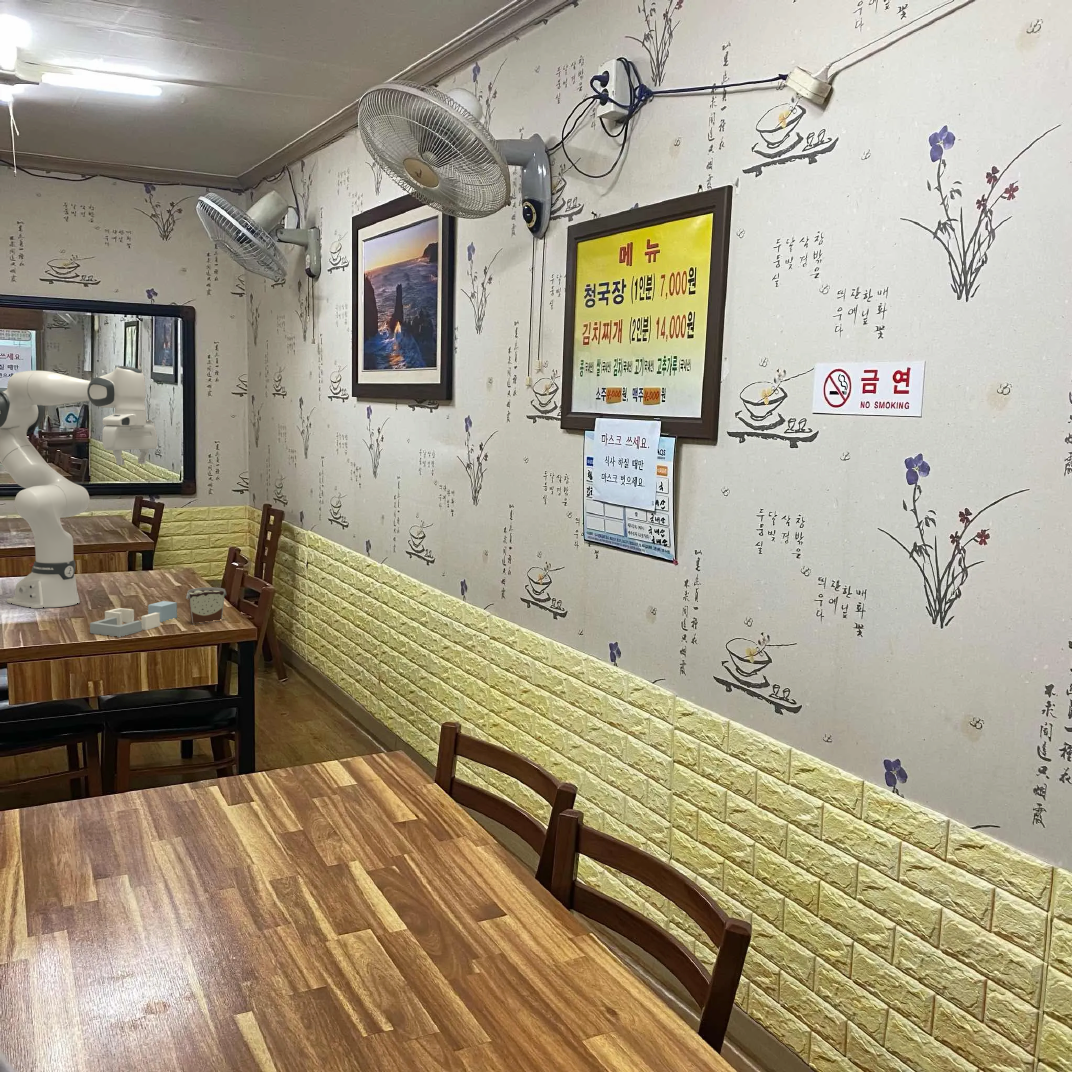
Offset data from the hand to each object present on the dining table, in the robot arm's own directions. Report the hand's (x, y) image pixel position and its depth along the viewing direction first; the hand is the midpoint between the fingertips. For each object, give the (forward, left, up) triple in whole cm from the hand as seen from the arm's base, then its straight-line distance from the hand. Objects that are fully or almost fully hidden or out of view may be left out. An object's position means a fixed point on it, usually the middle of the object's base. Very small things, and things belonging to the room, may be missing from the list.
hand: (131, 464), depth 302 cm
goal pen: (+13, -21, -47) cm, 53 cm away
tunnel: (+11, -13, -47) cm, 50 cm away
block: (+13, -2, -48) cm, 49 cm away
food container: (+25, +2, -48) cm, 54 cm away
